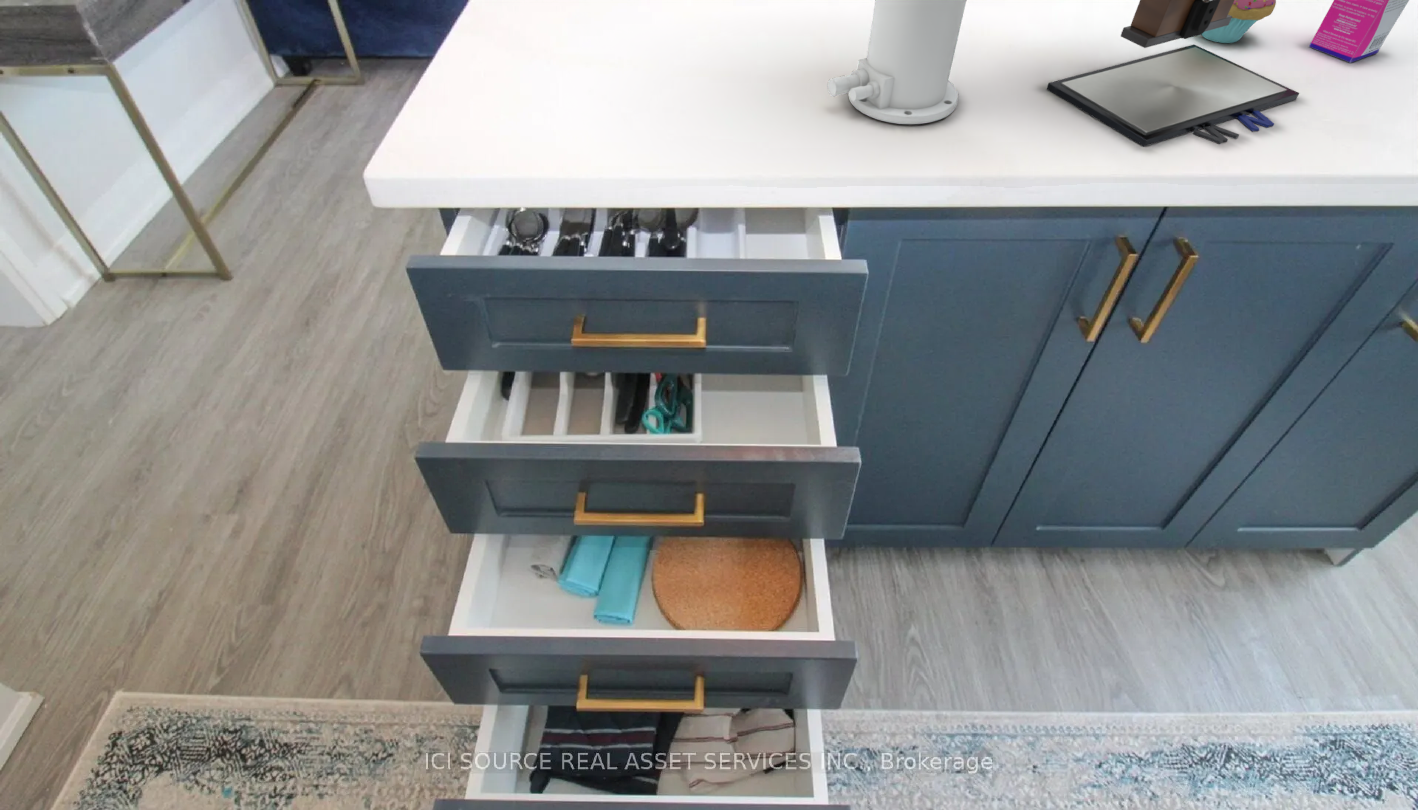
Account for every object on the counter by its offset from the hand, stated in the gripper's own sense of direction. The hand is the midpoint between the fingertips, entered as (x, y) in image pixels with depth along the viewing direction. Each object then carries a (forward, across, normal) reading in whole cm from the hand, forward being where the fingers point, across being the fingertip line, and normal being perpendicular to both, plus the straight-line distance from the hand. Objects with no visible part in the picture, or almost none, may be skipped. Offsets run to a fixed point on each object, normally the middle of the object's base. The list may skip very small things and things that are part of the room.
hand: (1176, 27), depth 86 cm
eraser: (0, 0, 0) cm, 0 cm away
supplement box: (+7, +4, +29) cm, 30 cm away
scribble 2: (+7, +12, +3) cm, 14 cm away
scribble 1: (+7, +12, -3) cm, 14 cm away
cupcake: (+7, -6, +19) cm, 21 cm away
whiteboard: (+7, +3, 0) cm, 7 cm away
